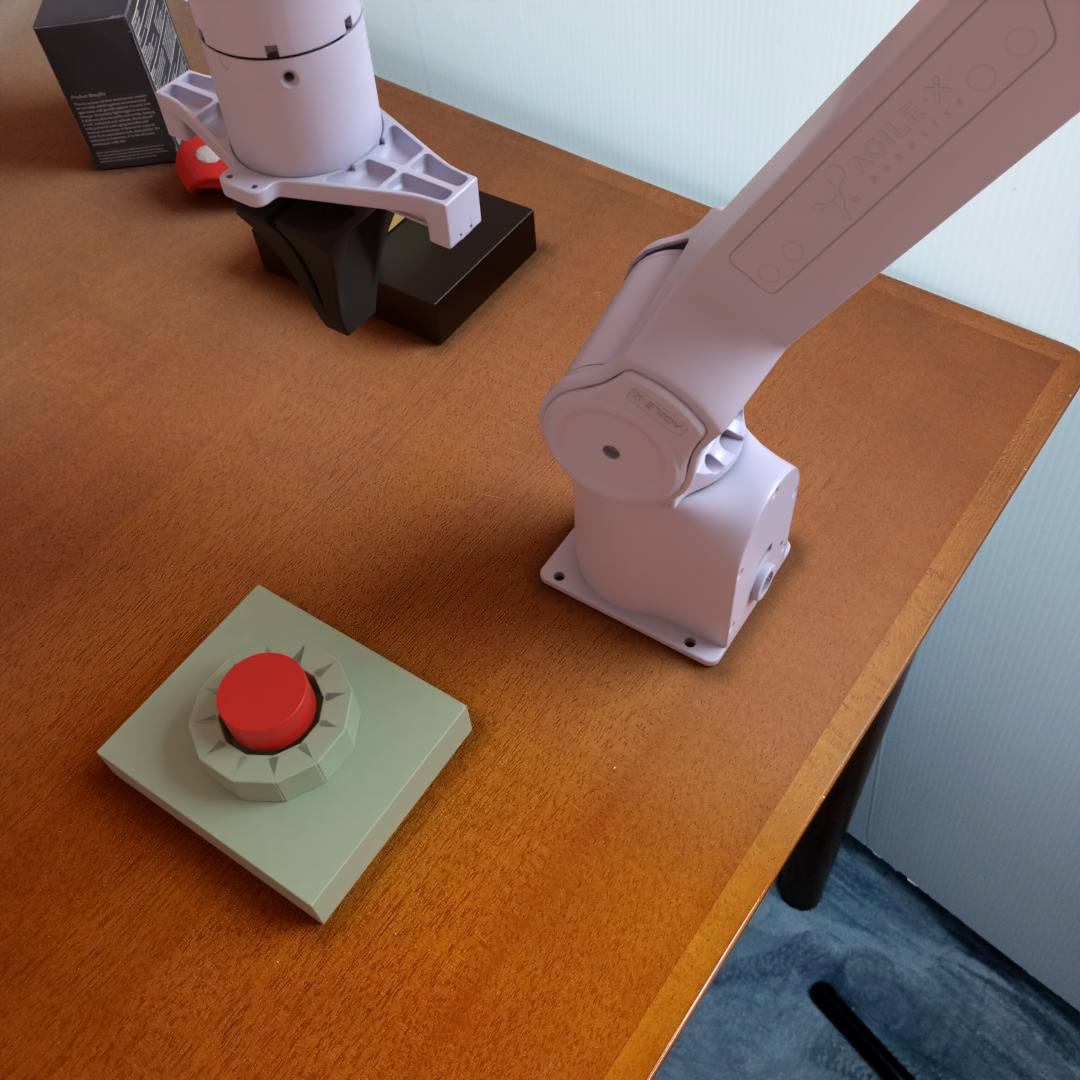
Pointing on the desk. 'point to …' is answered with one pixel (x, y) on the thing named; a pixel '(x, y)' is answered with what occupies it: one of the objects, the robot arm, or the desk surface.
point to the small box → (114, 74)
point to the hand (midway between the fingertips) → (350, 318)
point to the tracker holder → (198, 166)
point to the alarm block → (292, 754)
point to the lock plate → (441, 268)
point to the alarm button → (266, 701)
